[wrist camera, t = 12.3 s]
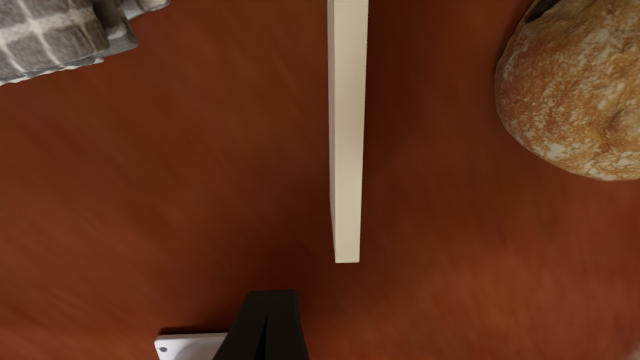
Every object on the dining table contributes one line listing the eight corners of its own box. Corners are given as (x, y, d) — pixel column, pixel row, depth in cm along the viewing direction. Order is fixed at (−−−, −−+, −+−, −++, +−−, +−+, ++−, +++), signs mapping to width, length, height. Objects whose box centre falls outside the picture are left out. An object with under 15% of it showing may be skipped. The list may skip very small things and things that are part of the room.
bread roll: (589, -83, 17) (694, -215, 9) (803, 34, 15) (1124, -16, 8) (452, 96, 21) (450, 100, 13) (611, 203, 19) (707, 274, 12)
